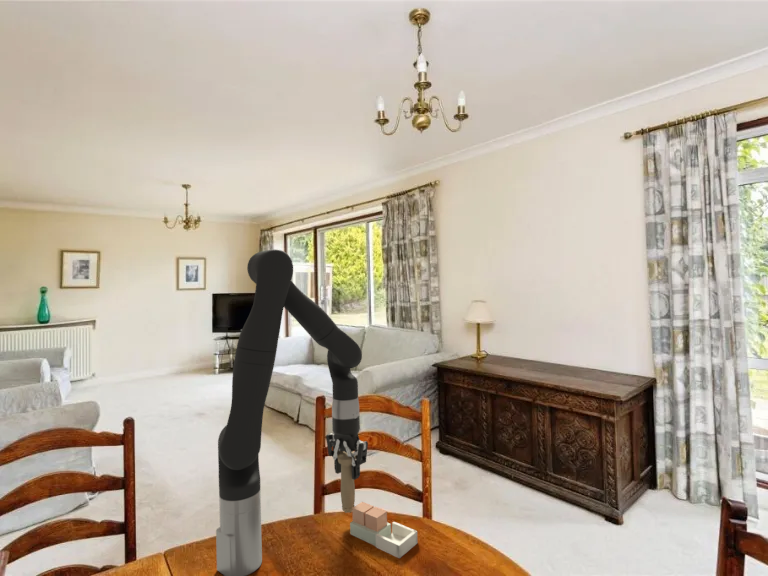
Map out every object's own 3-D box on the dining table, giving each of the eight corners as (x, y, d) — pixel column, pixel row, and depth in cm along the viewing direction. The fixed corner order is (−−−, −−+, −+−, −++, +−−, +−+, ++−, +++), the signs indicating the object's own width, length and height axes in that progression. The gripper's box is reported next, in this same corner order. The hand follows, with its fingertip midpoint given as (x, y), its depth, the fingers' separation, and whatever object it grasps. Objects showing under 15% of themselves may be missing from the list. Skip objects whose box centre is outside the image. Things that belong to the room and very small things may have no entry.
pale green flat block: (376, 546, 103) (376, 534, 104) (350, 534, 109) (350, 522, 109) (391, 535, 108) (390, 523, 108) (365, 524, 114) (365, 513, 114)
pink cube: (363, 526, 107) (363, 512, 107) (352, 521, 110) (352, 507, 110) (373, 519, 111) (373, 506, 111) (362, 514, 113) (362, 501, 113)
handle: (338, 516, 110) (336, 460, 111) (340, 504, 117) (338, 451, 117) (356, 516, 111) (354, 459, 111) (357, 504, 117) (356, 450, 117)
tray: (399, 558, 99) (399, 545, 99) (375, 547, 103) (375, 535, 103) (417, 543, 104) (417, 531, 105) (394, 533, 109) (394, 521, 109)
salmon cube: (377, 531, 105) (376, 518, 105) (365, 526, 107) (365, 513, 107) (387, 524, 108) (386, 511, 108) (375, 519, 110) (375, 506, 110)
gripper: (317, 413, 116) (319, 473, 115) (355, 422, 107) (357, 487, 107) (336, 407, 122) (338, 464, 121) (374, 414, 113) (376, 477, 112)
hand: (347, 475), depth 114 cm, fingers closed on handle, 5 cm apart
